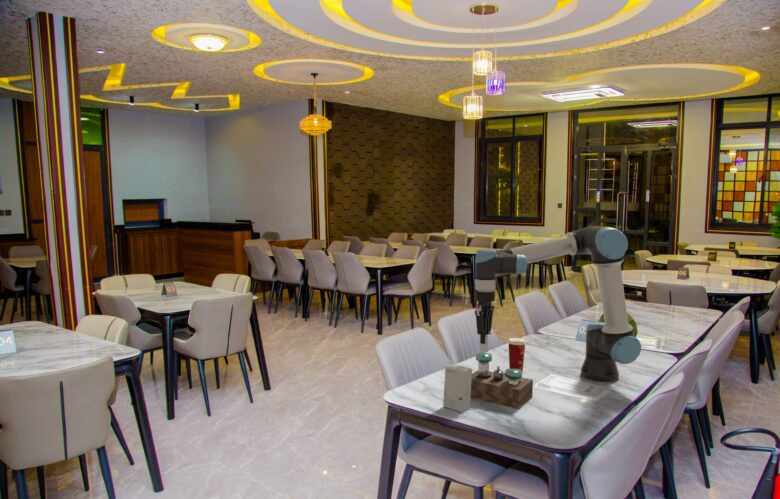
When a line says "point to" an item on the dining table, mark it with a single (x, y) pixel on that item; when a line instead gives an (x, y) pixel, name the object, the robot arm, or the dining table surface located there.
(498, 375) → the potentiometer
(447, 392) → the skincare box
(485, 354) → the knob
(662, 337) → the dining table surface
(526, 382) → the mount
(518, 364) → the paper cup
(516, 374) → the green capped bottle
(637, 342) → the robot arm
